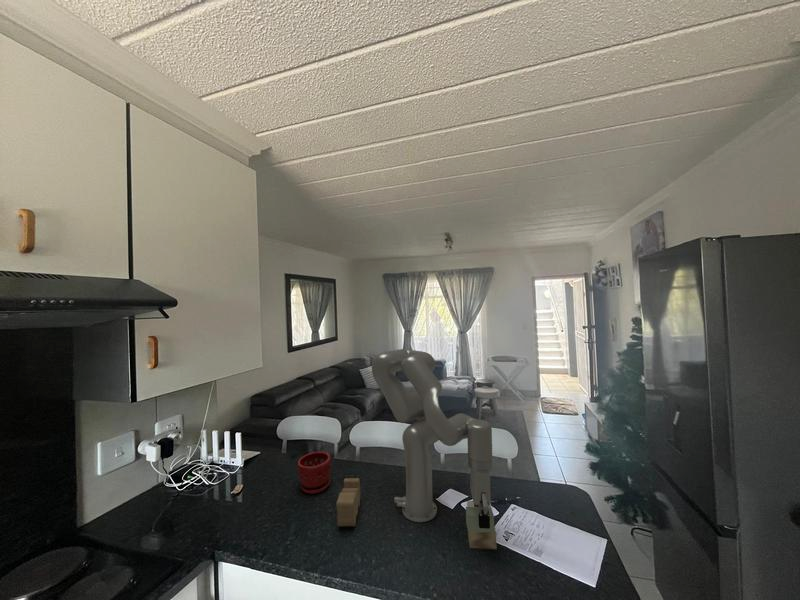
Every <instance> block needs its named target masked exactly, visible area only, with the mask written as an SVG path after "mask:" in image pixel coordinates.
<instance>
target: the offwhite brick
mask: <svg viewBox="0 0 800 600" xmlns="http://www.w3.org/2000/svg"><path fill="white" fill-rule="evenodd" d="M466 502H467V504H466V505H467V506H466V507H475V506H474V502H473V500H467V501H466ZM491 503H492V502H490V505H489V506H488V507H491V509H492V510H493V508H492V504H491Z"/></svg>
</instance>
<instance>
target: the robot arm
mask: <svg viewBox="0 0 800 600" xmlns="http://www.w3.org/2000/svg"><path fill="white" fill-rule="evenodd" d="M435 369H436V359H435V358H434V356H432V354H431V353H428V352H426V351H420V350H414V349H408V348H400V349H395V350H389V351H385V352H384V351H383V352H381V353H380V354H378V355H376V356H375V357H374V358H373V360H372V364H371V373H372V377H373V379H374V381H375V383H376V385H377V386H378V388H379V389H380V390H381V392H382V394H383V396H384V398H385V401H386V402H387V404H388V406H389V408H390V410H391V411H392V414H393V416H394V418H395V419H396V420H397V421H398V423H401V424H403V423H408V422H410V421H413V420H414V419H416V420H417V421H415V422H413V423H411V424H409V425H408V426H407V427H406V428H405V429H404V431H403V432H402V444H403V449H404V459H405V487H406V489H405V495H403V496H394V499H393V500H394V503H395V504H396V507H399V508H400V507H402V509H401V510H402V511H401V512H402V514H403V516H404V517H405V518H406V519H408V520H409V521H410V522H414V523H425V522H426V523H427V522H429V521H431V520H433V519H434V518H435V517H436V516H437V514H438V507H437V505H436V503H435V502H434V501H433V468H432V467H433V466H432V465H433V464H432V459H431V455H430V453H429V451H428V450H429V448H430V447H431V446H432V445H434V444H436V443H437V442H439V441H440V443H442V444H443V445H445V446H448V447H453V446H455V445H457V444H459V443H460V442H461V441H464V440H466V439H467V465H468V466H467V467H468V468H469V469H470V475H469V476H470V477H469V478H470V480H469V481H470V483H469V485H470V487H469V488H470V492H471V493H470V494H471V498H472V501H473V502H474V506H475V507H479V513H478V516H479V528H486V529H489V528H490V514H489V507H488V506H489V505H490V503H491V477H490V476H491V475H490V472H491V471H492V470H493V469H494V465H493V463H494V462H493V430H492V428H493V427H492V425H491V423H489V422H488V421H487V420H484V419H477V418H474V417H472V416H470V415H468V414H466V413H462V412H461V413H456V414H455V415H453V416H451V417H449V418H447V417H446V414H444V412H443V411H442V409H441V407H440V402H439V396H440V393H441V391H442V389H443V385H442V383H441V381H440V380H439V379H438V378H437V376H436V375H435V374H434V373H433V371H434V370H435ZM401 371H402V372H403V374H404V375H405V376H406V378H407V380H408V381H409V382H410V383H411V385H412V386H413V388H414V389H415V391H412V392H408V390H407V388H406V387H405V385H404V383H403V382H402V381H401V380H400V379H399V378H398V377H397V376H396V375H395V374H394V373H397V372H401ZM481 507H483V509H482V511H481Z"/></svg>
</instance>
